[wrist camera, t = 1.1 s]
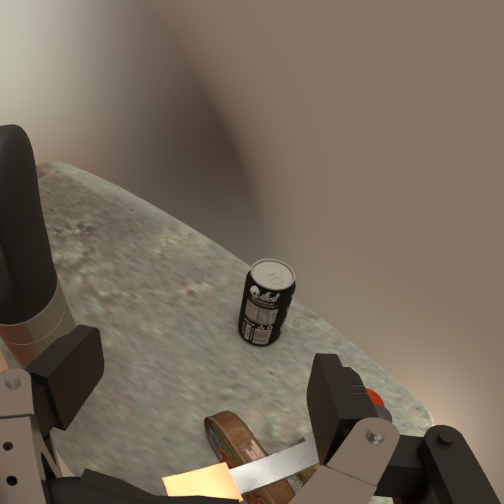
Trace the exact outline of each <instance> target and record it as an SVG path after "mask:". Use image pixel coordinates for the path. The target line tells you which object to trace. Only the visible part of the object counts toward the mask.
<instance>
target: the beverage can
mask: <svg viewBox="0 0 504 504" xmlns="http://www.w3.org/2000/svg"><path fill="white" fill-rule="evenodd" d="M294 291H295V274H294V272H293V270H292V268H291V267H290V266H289V265H287V264H286V263H284V262H282V261H279V260H276V259H262V260H259V261H257V262H256V263H254V264H253V266H252V268H251V270H250V271H249V272H248V274H247V276H246V281H245V287H244V293H243V299H242V305H241V311H240V317H239V322H238V328H239V331H240V333H241V335H242V336H243V337H244V338H245V339H246V340H248V341H249V342H252V343H254V344H260V345H264V344H269V343H272V342H274V341H275V340H276V339H277V338H278V337H279V335H280V333H281V330H282V327H283V324H284V321H285V318H286V315H287V312H288V309H289V306H290V303H291V300H292V297H293V294H294Z"/></svg>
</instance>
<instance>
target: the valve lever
mask: <svg viewBox="0 0 504 504" xmlns="http://www.w3.org/2000/svg"><path fill="white" fill-rule="evenodd" d="M373 405H374V407H375V409H376V411H377V413H378V416H379V418H381V419H384V420H387V421H389V422H391V423H392V417H391V414H390V412H389V411H388V410H387V409H386V408H385V407H384V406H382V405H379V404H373ZM318 464H319V459H318V454H317V449H316V444H315V439H314V438H311V439H309V440H307V441H305V442H302V443H300V444H298V445H295V446H293V447H290V448H288V449H286V450H283V451H281V452H278V453H276V454H273V455H270V456H268V457H265V458H262V459H260V460H257V461H254V462H251V463H248V464H245V465H242V466H239V467H236V468H233V469H230V470H229V469H228V467H227V464H226V462H224V463H221V464H217V465H214V466H210V467H207V468H203V469H199V470H195V471H191V472H187V473H183V474H179V475H174V476H170V477H165V478H163V481H164V484H165V487H166V489H167V492H168V495H169V496H190V495H202V496H211V497H220V498H231V499H239V503H240V502H242V501H243V499H242V497H241V496H243V495H246V494H248V493H251V492H254V491H257V490H260V489H262V488H265V487H268V486H270V485H273V484H275V483H278V482H280V481H283V480H285V479H287V478H290V477H292V476H294V475H297V474H299V473H301V472H303V471H306V470H308V469H310V468H312V467H314V466H316V465H318Z"/></svg>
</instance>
